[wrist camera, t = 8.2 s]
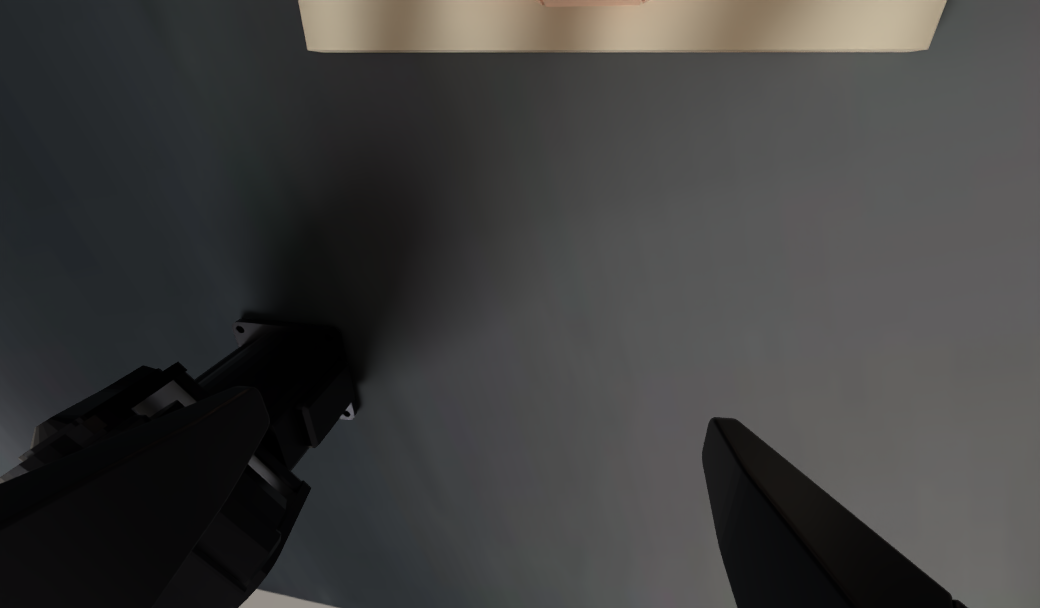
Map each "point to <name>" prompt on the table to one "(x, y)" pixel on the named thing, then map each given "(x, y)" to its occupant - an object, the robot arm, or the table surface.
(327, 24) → the birch board
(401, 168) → the table surface
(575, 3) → the ring collar
